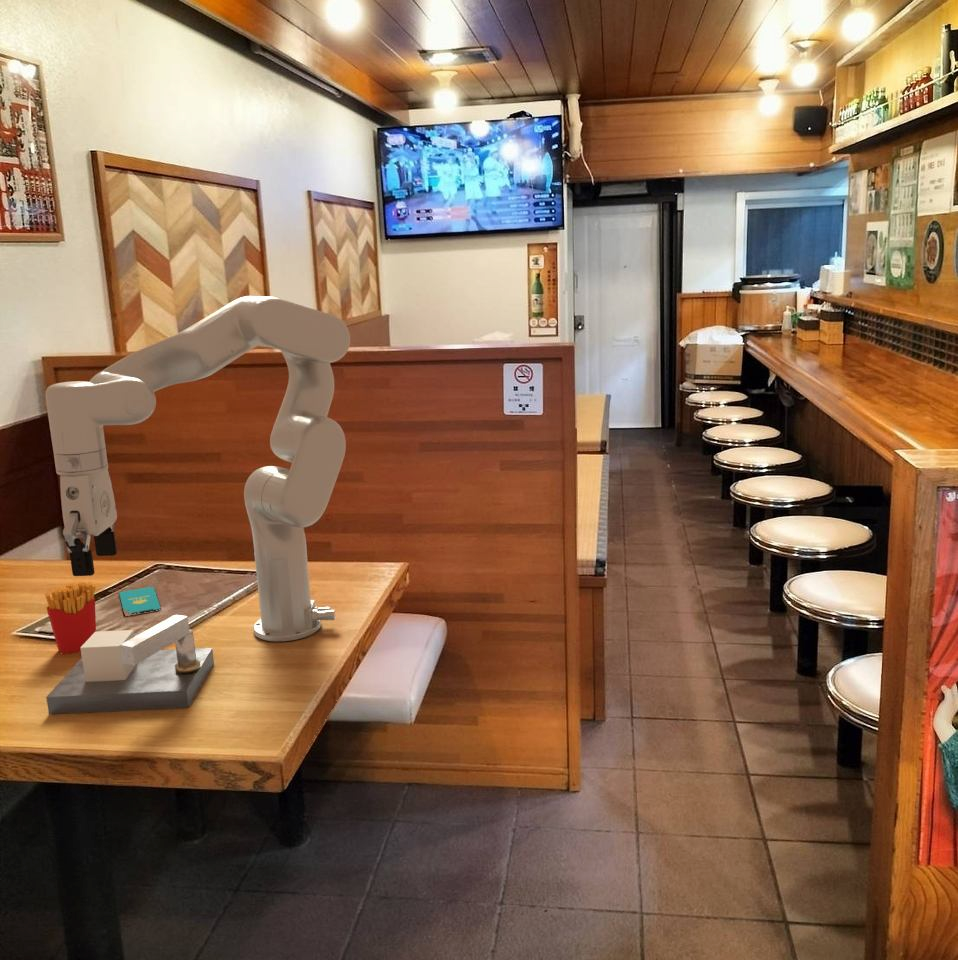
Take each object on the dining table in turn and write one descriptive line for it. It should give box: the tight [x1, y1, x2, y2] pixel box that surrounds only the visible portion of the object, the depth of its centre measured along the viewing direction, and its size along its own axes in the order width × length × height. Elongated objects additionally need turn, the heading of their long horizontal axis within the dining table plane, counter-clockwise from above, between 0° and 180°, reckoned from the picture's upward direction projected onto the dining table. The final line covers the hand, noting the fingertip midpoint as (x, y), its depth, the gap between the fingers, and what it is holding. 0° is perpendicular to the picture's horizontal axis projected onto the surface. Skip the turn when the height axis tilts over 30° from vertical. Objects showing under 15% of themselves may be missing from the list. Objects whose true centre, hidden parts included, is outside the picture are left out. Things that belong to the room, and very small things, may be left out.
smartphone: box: [118, 586, 162, 614], centre depth 191 cm, size 7×1×15 cm
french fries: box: [44, 581, 97, 654], centre depth 168 cm, size 8×4×12 cm, turn 129°
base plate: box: [45, 647, 215, 715], centre depth 152 cm, size 22×16×3 cm
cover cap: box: [80, 629, 137, 682], centre depth 151 cm, size 6×6×6 cm
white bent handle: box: [120, 614, 200, 673], centre depth 146 cm, size 14×4×9 cm, turn 157°
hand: (95, 564), depth 147 cm, fingers open, 9 cm apart
